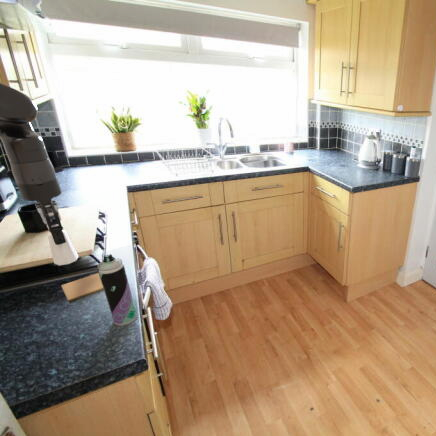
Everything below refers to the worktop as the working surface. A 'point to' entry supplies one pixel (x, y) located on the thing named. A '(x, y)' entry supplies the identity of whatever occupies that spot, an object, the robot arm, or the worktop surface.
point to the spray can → (117, 290)
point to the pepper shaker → (62, 250)
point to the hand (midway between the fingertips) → (59, 240)
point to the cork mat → (82, 287)
